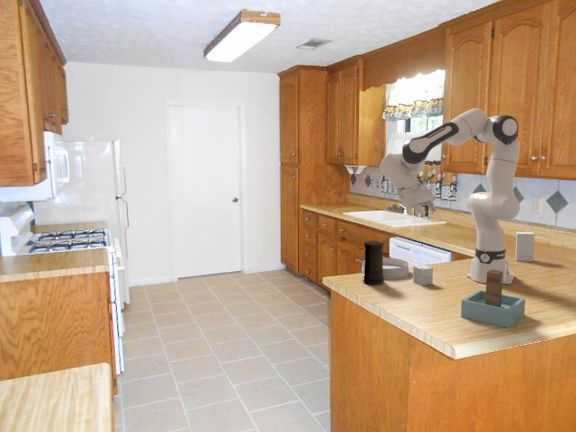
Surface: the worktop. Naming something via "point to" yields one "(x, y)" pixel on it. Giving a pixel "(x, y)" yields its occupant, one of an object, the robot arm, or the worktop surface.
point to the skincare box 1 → (423, 275)
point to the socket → (493, 309)
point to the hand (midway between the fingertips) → (429, 212)
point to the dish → (392, 268)
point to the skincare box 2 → (525, 246)
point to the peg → (494, 288)
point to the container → (373, 263)
